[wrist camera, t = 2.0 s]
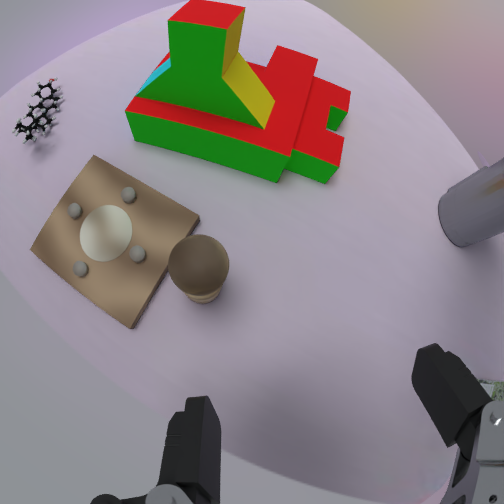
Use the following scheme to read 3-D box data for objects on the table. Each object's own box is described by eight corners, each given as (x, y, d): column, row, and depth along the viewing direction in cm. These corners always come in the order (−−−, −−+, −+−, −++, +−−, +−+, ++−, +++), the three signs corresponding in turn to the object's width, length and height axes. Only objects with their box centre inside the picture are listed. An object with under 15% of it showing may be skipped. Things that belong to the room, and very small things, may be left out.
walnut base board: (97, 161, 32) (91, 150, 30) (199, 220, 32) (199, 212, 30) (36, 252, 28) (25, 247, 26) (133, 328, 29) (127, 329, 26)
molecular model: (41, 108, 35) (40, 75, 30) (69, 107, 37) (71, 74, 33) (6, 162, 27) (-1, 122, 22) (41, 161, 29) (37, 120, 24)
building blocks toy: (320, 200, 36) (401, 112, 18) (135, 141, 34) (101, 31, 16) (340, 102, 40) (391, 18, 23) (192, 56, 39) (194, -38, 21)
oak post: (195, 258, 31) (188, 223, 20) (228, 278, 31) (240, 253, 20) (176, 291, 30) (156, 274, 19) (209, 311, 30) (209, 306, 19)
